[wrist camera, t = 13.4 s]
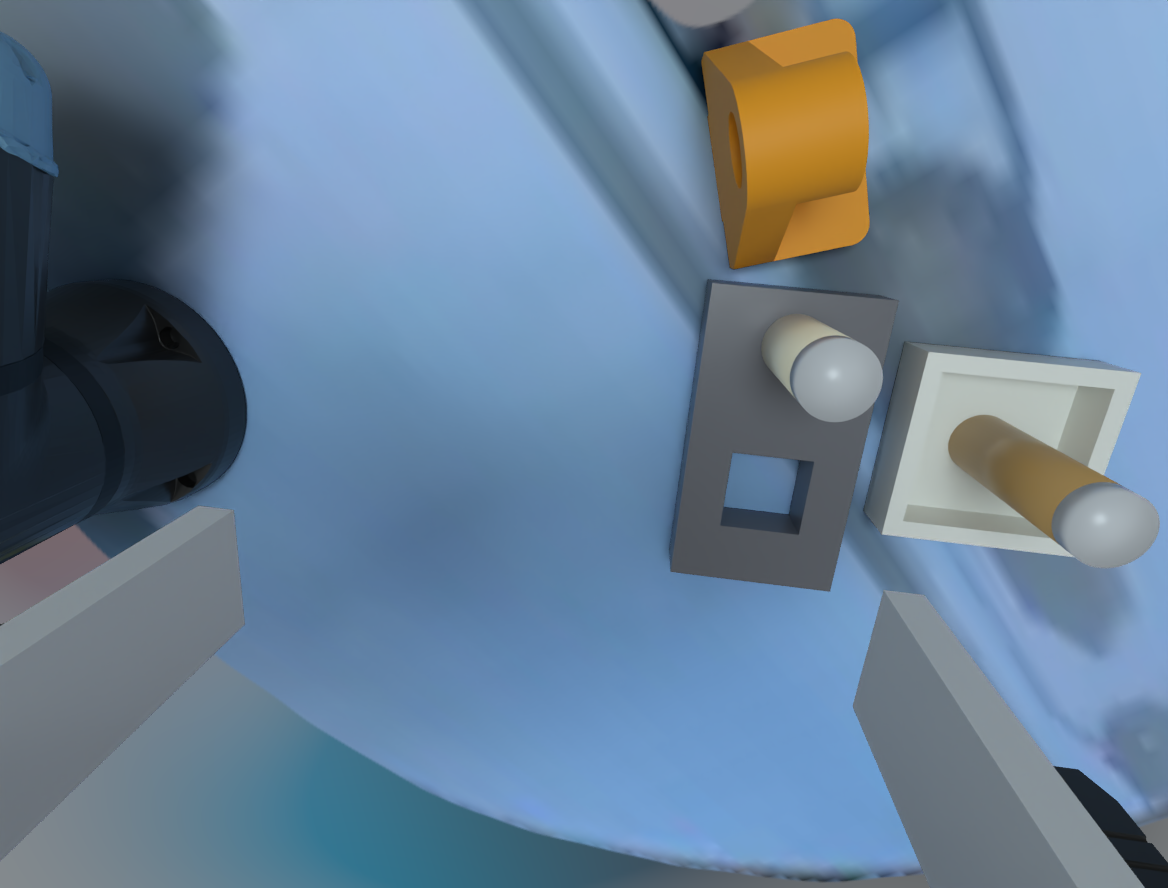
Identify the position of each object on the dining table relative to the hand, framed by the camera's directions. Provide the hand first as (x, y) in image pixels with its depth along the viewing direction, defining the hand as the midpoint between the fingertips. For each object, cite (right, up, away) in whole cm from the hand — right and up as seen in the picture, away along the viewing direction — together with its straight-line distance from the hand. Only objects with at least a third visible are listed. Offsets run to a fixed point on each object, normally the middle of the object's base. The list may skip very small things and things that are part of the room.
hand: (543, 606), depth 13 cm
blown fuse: (+25, +3, +26) cm, 36 cm away
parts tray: (+25, +4, +27) cm, 37 cm away
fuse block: (+12, +4, +28) cm, 31 cm away
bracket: (+12, +19, +23) cm, 32 cm away
